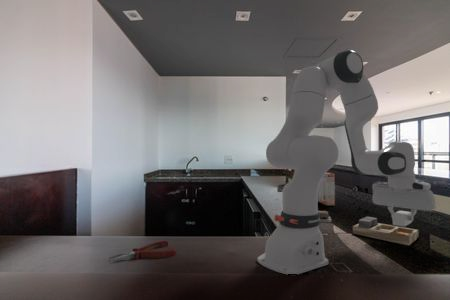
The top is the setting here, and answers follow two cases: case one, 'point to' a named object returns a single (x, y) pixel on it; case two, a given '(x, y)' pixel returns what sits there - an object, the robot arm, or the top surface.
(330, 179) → the cracker box
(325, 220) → the packaged product
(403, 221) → the white rectangular block
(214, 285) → the top surface
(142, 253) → the pliers
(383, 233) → the rack
